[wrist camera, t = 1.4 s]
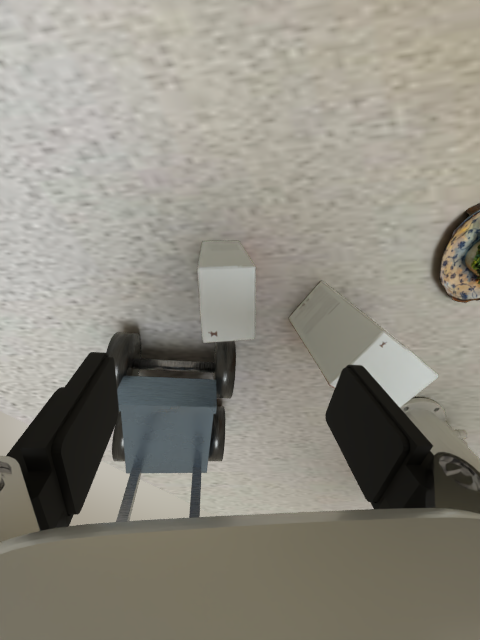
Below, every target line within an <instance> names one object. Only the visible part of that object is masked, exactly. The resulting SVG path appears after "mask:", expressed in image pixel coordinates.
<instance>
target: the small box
mask: <svg viewBox="0 0 480 640" xmlns="http://www.w3.org/2000/svg"><path fill="white" fill-rule="evenodd" d="M289 320H290V322H291V324H292V325H293V327H294V328H295V330H296V331H297V333H298V335H299V336H300V338H301V340H302V341H303V343H304V345H305V346H306V348H307V349H308V351H309V353H310V354H311V356H312V357H313V359H314V361H315V362H316V364H317V365H318V367H319V369H320V370H321V372H322V374H323V375H324V377H325V379H326V380H327V382H328V384H329V385H330V386H332V387H333V388H335V387H336V385H337V382H338V379H339V377H340V374H341V371H342V369H343V368H346V366H347V365H362V366H363V367H364V368H365V369H366V370H367V371H368V372H369V373H370V374H371V375H372V377H373V378H374V379H375V380H376V381H377V382H378V383H379V385H380V386H381V387H382V388H383V389H384V390H385V391H386V393H387V394H388V395H389V396H390V397H391V398H392V399H393V400H394V402H395V403H396V404H397V405H398V406H399V407H401V406H403V405H404V404H405V403H406V402H408V401H409V400H410V399H411V398H413V397H414V396H415V395H416V394H418V393H419V392H420V391H421V390H423V389H424V388H425V387H426V386H428V385H429V384H430V383H431V382H433V381H434V380H435V379H437V378H438V374H437V373H436V372H435V371H433V370H432V369H431V368H430V367H429V366H428V365H426V364H425V363H424V362H423V361H422V360H420V359H419V358H418V357H417V356H416V355H415V354H414V353H412V352H411V351H410V350H409V349H407V348H406V347H405V346H403V345H402V344H401V343H399V342H398V341H397V340H396V339H395V338H393V337H392V336H391V335H390V334H388V333H387V332H386V331H385V330H384V329H382V328H381V327H380V326H379V325H377V324H376V323H375V322H374V321H373V320H371V319H370V318H369V317H368V316H366V315H365V314H364V313H363V312H361V311H360V310H359V309H358V308H356V307H355V306H354V305H353V304H351V303H350V302H349V301H348V300H346V299H345V298H344V297H343V296H341V295H340V294H339V293H338V292H336V291H335V290H334V289H333V288H331V287H330V286H329V285H327V284H326V283H325V282H323V281H321V282H320V283H319V284H318V285H317V286H316V287H315V288H314V289H313V291H312V292H311V293H310V294H309V295H308V296H307V297H306V299H305V300H304V301H303V302H302V303H301V304H300V305H299V307H298V308H297V309H296V310H295V311H294V312H293V314H292V315H291V316H290V317H289Z"/></svg>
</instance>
